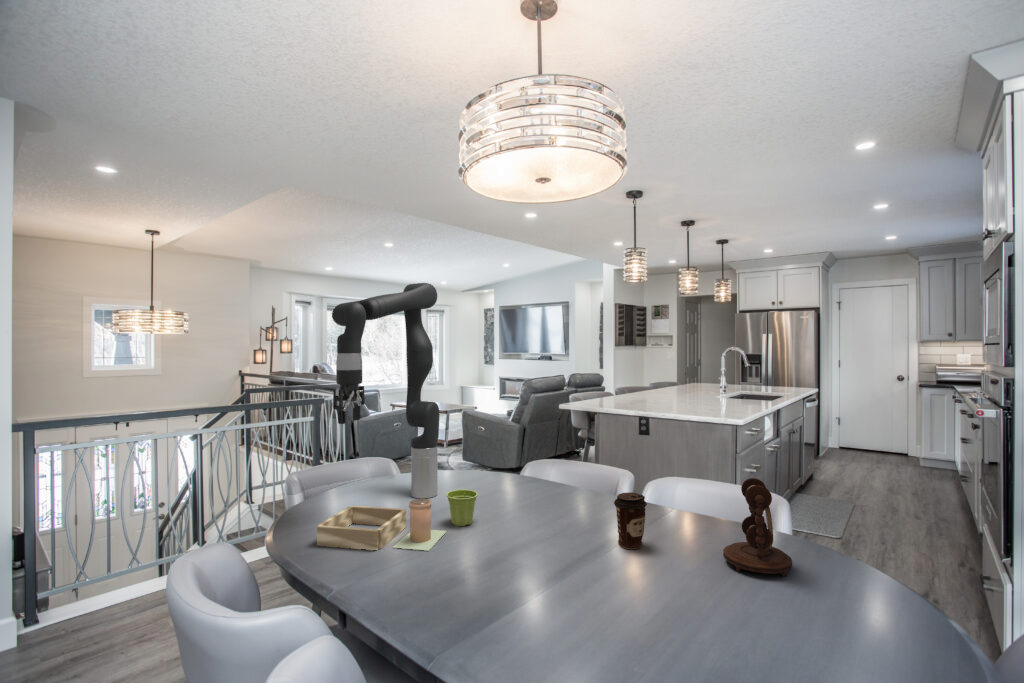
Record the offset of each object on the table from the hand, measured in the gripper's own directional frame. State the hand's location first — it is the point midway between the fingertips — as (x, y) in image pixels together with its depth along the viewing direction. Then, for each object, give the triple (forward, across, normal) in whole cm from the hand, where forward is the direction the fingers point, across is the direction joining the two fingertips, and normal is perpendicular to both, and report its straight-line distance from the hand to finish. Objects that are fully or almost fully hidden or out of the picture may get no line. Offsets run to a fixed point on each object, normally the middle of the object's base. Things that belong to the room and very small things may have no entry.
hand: (349, 421), depth 154 cm
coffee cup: (+30, -3, -83) cm, 88 cm away
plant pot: (+30, +5, -34) cm, 46 cm away
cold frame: (+30, -10, -10) cm, 33 cm away
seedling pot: (+30, -10, -27) cm, 41 cm away
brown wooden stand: (+30, -10, -112) cm, 116 cm away
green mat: (+30, -10, -27) cm, 42 cm away
